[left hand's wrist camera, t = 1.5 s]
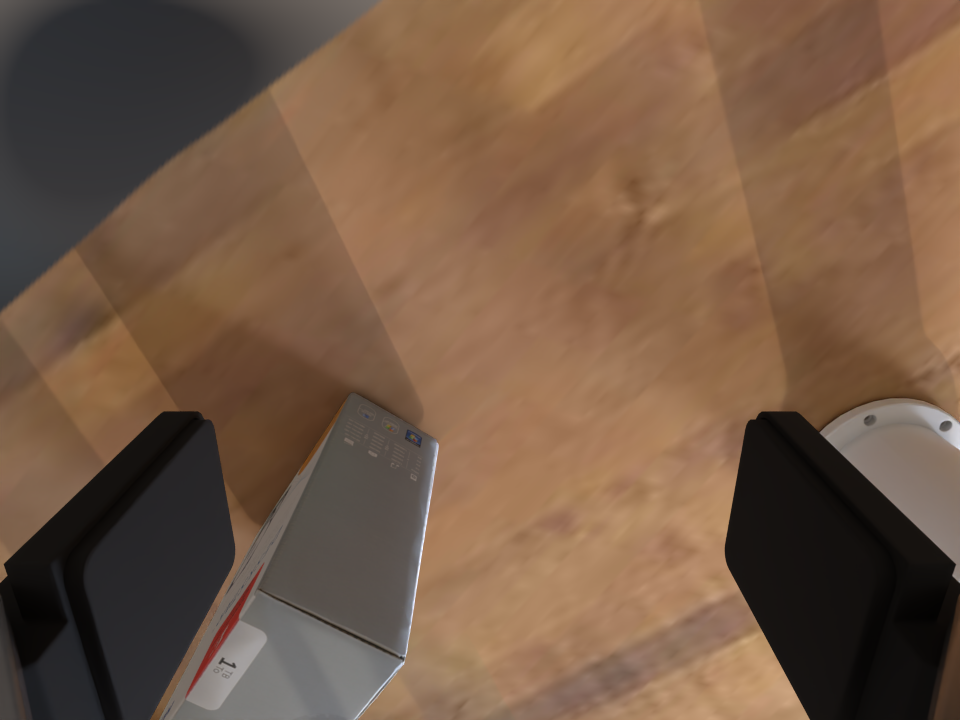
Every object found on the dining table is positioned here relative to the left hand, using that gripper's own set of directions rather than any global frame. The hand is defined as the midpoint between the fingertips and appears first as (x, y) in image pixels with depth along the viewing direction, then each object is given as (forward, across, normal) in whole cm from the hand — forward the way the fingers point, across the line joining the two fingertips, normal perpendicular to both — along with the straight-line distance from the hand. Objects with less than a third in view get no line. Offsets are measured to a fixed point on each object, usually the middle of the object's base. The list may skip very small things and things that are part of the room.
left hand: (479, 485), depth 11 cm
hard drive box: (+32, -10, -21) cm, 39 cm away
